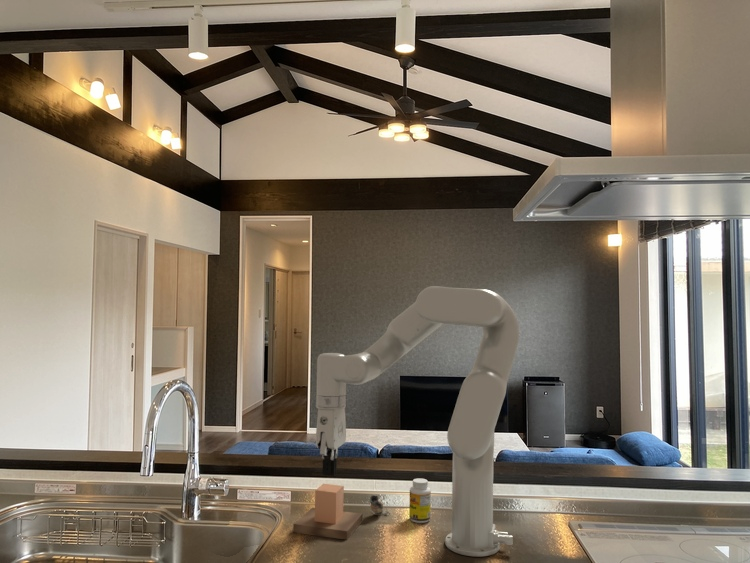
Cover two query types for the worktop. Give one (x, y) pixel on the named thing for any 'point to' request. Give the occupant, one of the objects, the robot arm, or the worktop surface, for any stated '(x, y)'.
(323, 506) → the peach upright block
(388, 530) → the worktop surface
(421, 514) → the supplement bottle
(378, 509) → the bird figurine
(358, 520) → the walnut base board
